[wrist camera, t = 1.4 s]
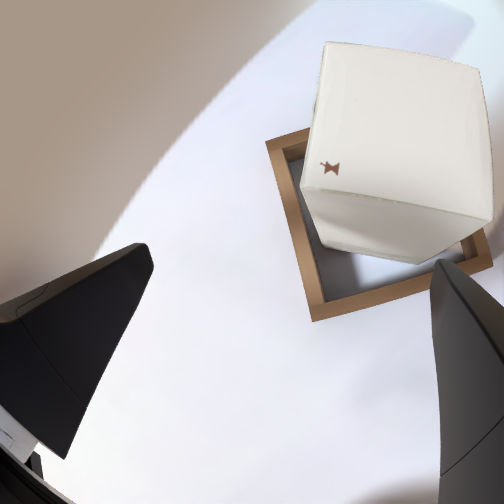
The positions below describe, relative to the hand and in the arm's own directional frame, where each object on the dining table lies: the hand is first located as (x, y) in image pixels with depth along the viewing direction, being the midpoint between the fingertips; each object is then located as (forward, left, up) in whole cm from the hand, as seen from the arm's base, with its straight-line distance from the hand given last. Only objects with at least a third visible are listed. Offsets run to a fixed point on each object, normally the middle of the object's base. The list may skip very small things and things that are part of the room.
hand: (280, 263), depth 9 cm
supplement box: (+4, -6, -14) cm, 16 cm away
